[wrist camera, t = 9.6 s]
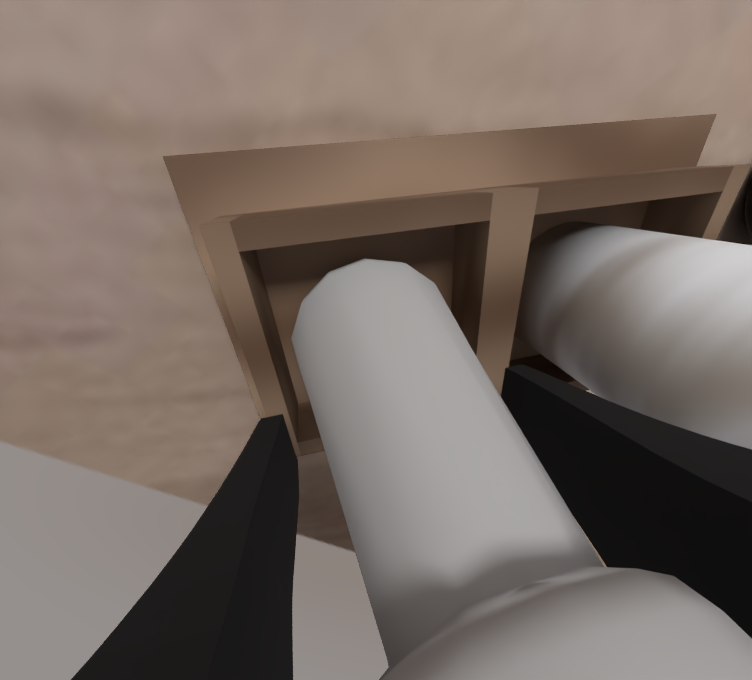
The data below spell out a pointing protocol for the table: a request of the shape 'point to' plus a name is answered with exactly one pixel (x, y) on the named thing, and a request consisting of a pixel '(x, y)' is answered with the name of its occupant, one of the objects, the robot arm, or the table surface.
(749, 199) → the spread jar
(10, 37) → the table surface
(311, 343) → the salt shaker
